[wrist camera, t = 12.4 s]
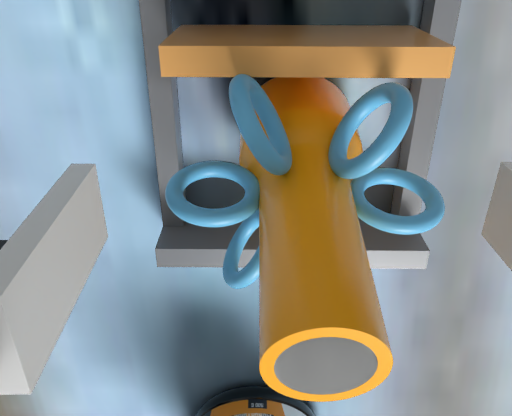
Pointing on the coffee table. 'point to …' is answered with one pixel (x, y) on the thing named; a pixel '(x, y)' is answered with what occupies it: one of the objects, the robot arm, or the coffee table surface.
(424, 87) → the frame
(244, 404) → the supplement container
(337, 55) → the bar
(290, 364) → the cylinder
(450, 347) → the coffee table surface
